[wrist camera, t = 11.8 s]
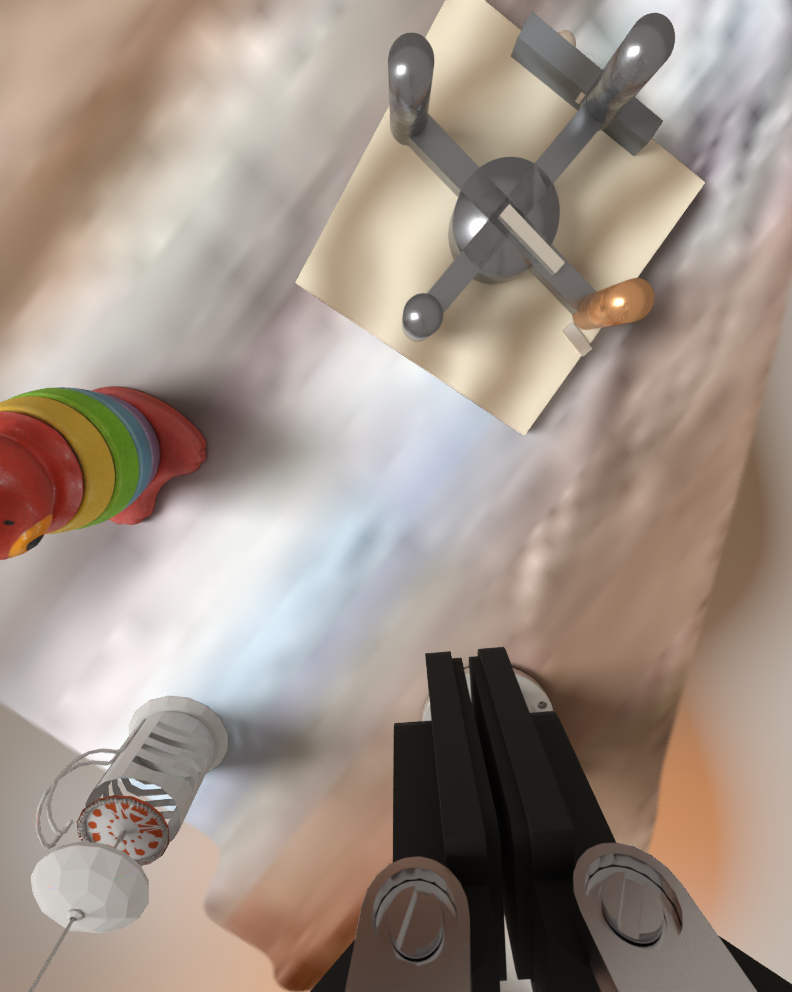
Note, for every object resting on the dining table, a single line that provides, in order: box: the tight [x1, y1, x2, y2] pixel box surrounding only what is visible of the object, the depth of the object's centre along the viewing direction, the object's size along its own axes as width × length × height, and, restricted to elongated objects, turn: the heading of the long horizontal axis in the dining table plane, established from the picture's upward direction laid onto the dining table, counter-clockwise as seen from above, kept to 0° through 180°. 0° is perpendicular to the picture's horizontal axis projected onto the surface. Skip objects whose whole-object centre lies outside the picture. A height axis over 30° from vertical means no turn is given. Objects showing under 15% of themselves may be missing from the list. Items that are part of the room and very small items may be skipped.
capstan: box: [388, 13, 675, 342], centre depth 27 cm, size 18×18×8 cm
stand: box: [295, 0, 705, 436], centre depth 32 cm, size 20×21×4 cm
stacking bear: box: [0, 387, 207, 560], centre depth 29 cm, size 11×10×18 cm
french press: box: [29, 696, 228, 992], centre depth 33 cm, size 10×12×25 cm
